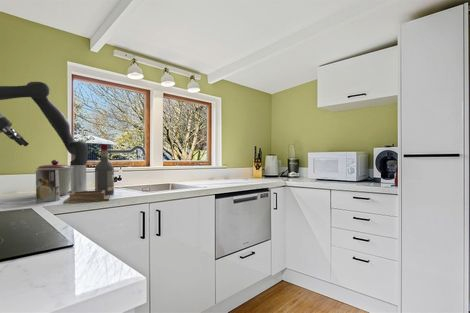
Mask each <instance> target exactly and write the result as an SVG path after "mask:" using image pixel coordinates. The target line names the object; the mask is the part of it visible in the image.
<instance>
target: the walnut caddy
mask: <svg viewBox="0 0 470 313" xmlns="http://www.w3.org/2000/svg"><path fill="white" fill-rule="evenodd" d="M68 196H69V197H67V198H66V199H65V200H63V204H74V203H75V204H77V203H92V202H95V203H96V202H108V201H110V197H111V195H105V190H99V191H95V190H86V191H77V192H70V193H69V195H68Z"/></svg>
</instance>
